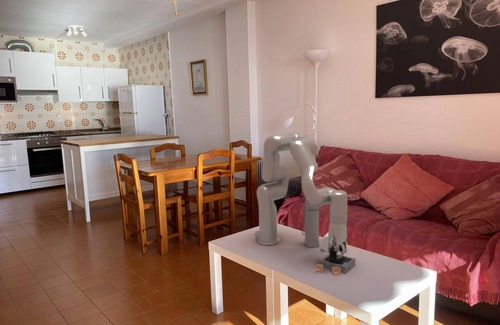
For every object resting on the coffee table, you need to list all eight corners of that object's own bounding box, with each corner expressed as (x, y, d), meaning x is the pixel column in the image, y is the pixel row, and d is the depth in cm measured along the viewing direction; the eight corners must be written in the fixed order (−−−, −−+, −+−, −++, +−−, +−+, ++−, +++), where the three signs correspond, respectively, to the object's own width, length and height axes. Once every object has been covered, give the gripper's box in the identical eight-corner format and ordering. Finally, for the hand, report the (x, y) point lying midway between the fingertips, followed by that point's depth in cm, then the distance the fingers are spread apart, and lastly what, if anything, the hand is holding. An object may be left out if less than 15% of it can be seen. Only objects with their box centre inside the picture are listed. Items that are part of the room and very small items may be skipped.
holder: (320, 266, 171) (320, 260, 171) (331, 258, 180) (331, 252, 179) (345, 273, 164) (345, 267, 163) (355, 264, 172) (355, 258, 172)
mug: (320, 250, 190) (320, 235, 189) (326, 244, 199) (326, 229, 198) (344, 254, 185) (344, 238, 184) (349, 247, 194) (349, 232, 192)
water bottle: (321, 244, 199) (321, 197, 195) (315, 248, 193) (315, 200, 189) (305, 241, 204) (305, 195, 200) (298, 245, 198) (298, 198, 194)
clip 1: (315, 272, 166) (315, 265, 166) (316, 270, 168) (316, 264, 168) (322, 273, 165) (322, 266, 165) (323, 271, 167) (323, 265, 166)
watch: (331, 260, 177) (331, 237, 175) (347, 264, 171) (347, 241, 170) (325, 264, 173) (325, 240, 171) (341, 268, 167) (341, 244, 166)
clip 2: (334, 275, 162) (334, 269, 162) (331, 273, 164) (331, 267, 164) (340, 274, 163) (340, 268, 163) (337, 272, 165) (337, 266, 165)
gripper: (338, 212, 178) (338, 247, 180) (321, 222, 164) (321, 259, 167) (354, 215, 173) (353, 251, 176) (337, 225, 160) (337, 263, 162)
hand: (337, 255), depth 171 cm, fingers open, 9 cm apart
